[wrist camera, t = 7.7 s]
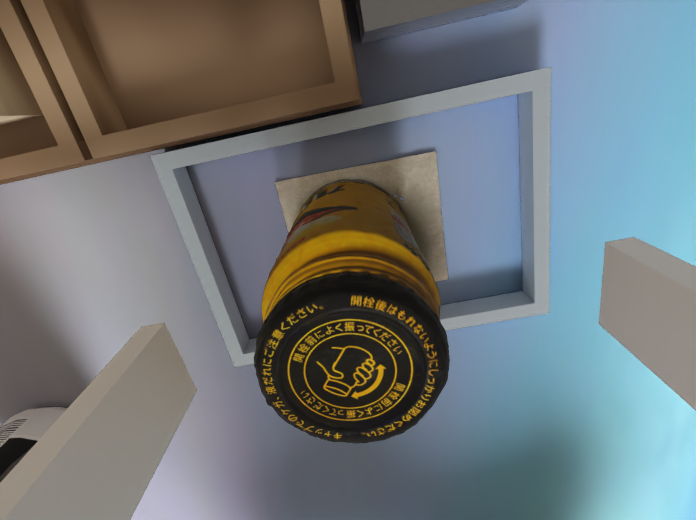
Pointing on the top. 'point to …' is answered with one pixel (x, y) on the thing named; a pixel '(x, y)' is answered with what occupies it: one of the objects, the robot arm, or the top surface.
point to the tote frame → (531, 126)
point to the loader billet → (14, 88)
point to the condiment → (356, 302)
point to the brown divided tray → (167, 74)
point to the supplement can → (24, 432)
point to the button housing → (419, 14)
